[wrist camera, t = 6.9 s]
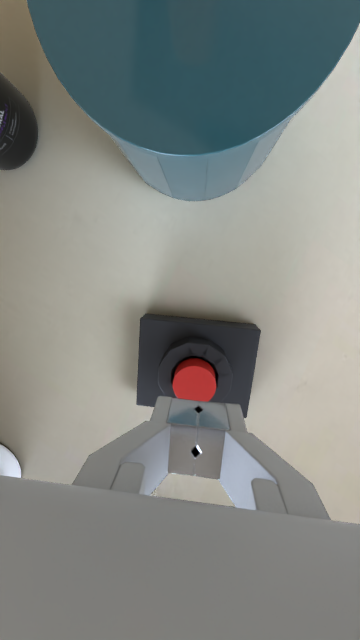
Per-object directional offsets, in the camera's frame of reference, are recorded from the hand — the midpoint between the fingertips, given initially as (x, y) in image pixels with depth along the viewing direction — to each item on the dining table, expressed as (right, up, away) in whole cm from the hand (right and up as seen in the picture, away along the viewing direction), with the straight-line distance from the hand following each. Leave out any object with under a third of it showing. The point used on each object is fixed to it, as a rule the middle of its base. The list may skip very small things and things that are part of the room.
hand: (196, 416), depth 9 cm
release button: (+1, -2, +13) cm, 13 cm away
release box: (+1, -1, +16) cm, 16 cm away
